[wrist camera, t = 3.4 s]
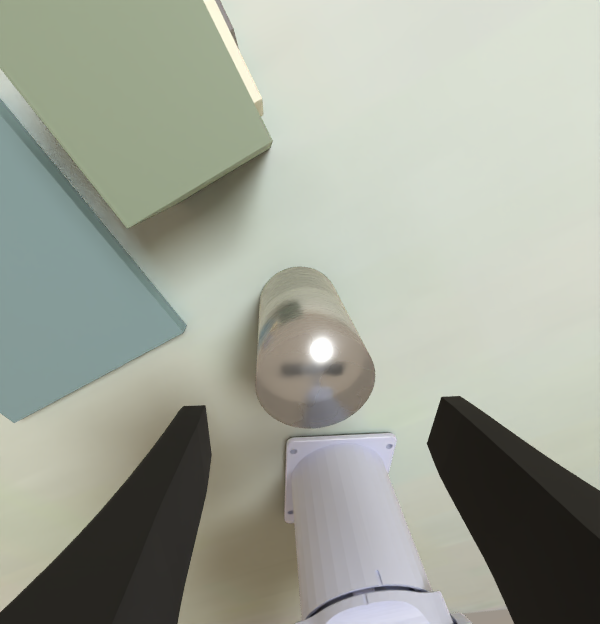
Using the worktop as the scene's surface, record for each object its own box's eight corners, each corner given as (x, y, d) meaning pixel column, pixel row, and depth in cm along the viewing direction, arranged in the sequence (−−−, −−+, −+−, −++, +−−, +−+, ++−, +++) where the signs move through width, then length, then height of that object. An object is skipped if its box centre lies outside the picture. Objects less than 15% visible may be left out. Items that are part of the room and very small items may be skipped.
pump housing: (178, 203, 15) (127, 228, 9) (60, 29, 12) (-117, -80, 6) (279, 142, 14) (286, 132, 9) (181, -59, 11) (98, -270, 6)
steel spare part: (333, 336, 19) (366, 425, 13) (260, 338, 18) (256, 430, 12) (340, 267, 17) (384, 331, 11) (258, 266, 16) (253, 332, 10)
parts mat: (23, 413, 19) (14, 423, 18) (-205, 243, 14) (-230, 247, 13) (186, 325, 17) (182, 332, 17) (-2, 96, 12) (-19, 92, 12)
